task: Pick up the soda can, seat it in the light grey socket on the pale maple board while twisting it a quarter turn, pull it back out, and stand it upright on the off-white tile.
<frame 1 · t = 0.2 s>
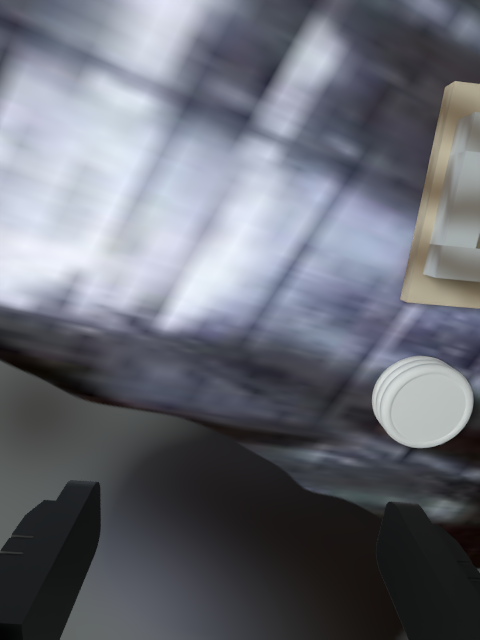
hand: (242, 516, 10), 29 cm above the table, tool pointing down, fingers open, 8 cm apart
white ribbed disc: (412, 393, 42), on the table
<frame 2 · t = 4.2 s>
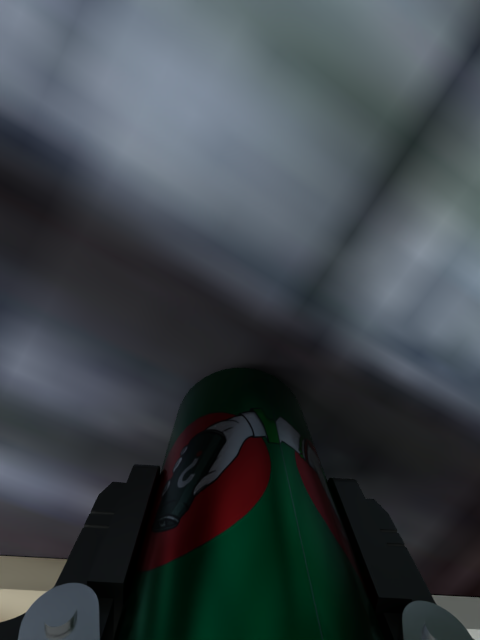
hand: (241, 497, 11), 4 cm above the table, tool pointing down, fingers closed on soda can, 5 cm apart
soda can: (239, 415, 15), on the table, touching gripper
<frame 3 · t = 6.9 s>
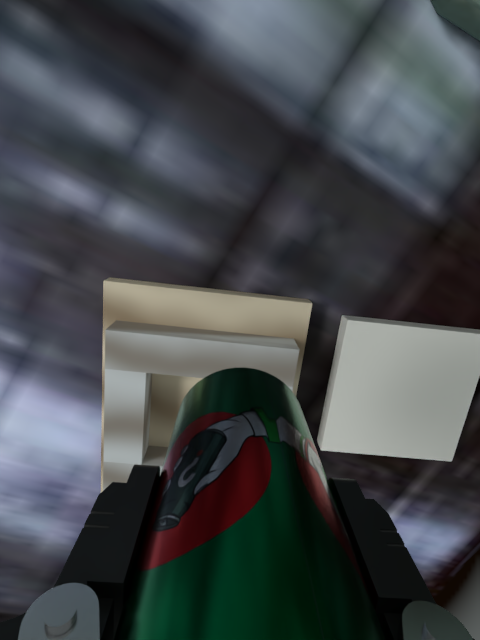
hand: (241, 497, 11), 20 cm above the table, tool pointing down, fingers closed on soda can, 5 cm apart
soda can: (239, 415, 15), point 15 cm above the table, touching gripper
tile: (395, 387, 32), on the table
socket board: (200, 399, 32), on the table
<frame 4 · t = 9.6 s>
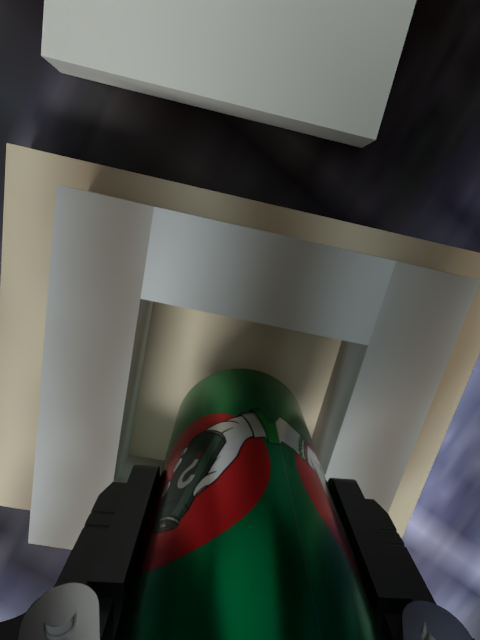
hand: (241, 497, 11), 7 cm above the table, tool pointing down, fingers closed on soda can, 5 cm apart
soda can: (239, 416, 15), point 2 cm above the table, touching gripper
socket board: (232, 378, 17), on the table
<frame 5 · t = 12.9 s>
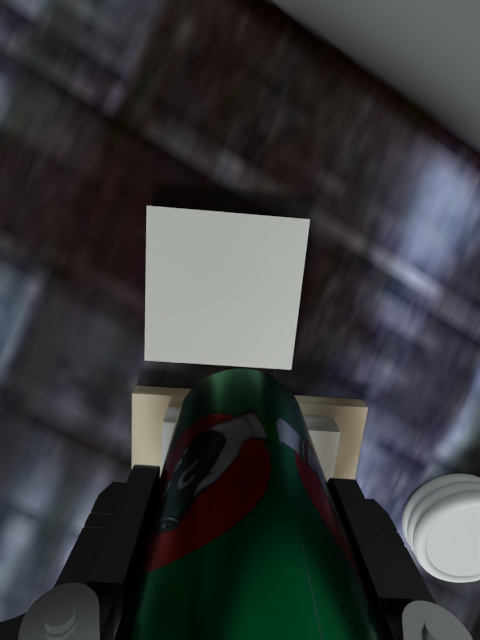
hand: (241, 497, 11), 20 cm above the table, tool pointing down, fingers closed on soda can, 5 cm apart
soda can: (239, 416, 15), point 15 cm above the table, touching gripper
tile: (223, 289, 29), on the table
socket board: (243, 470, 34), on the table
white ribbed disc: (447, 511, 36), on the table
when the fingers open (7 cm above the table, at t = 15.3 s): soda can stays where it is, resting on tile.
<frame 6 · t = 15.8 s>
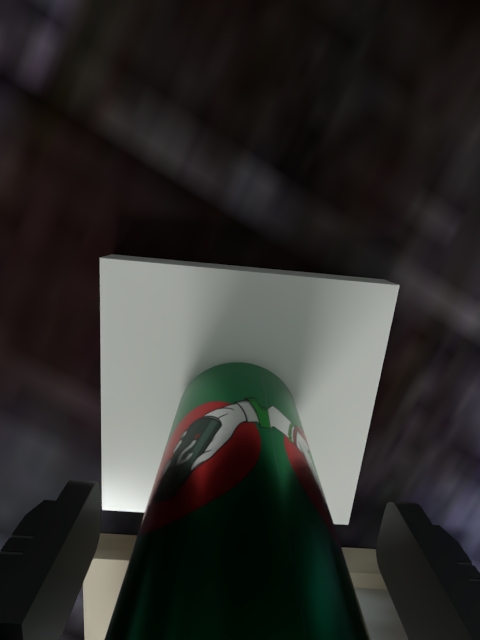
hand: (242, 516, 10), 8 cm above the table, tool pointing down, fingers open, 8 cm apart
soda can: (237, 408, 16), point 1 cm above the table, touching tile
tile: (238, 391, 17), on the table
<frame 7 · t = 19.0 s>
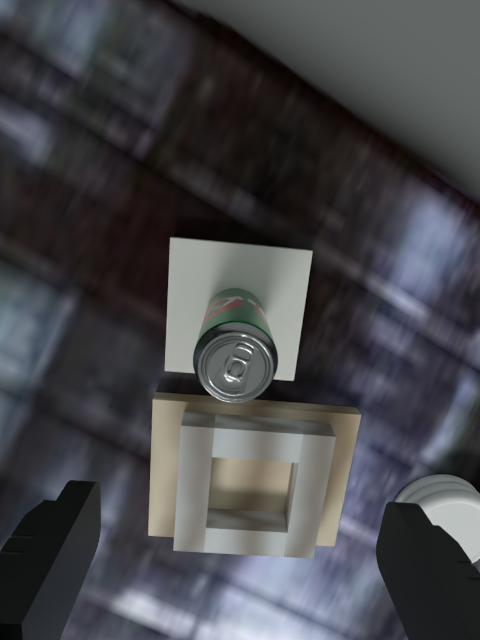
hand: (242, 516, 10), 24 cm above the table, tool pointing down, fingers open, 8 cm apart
soda can: (234, 314, 32), point 1 cm above the table, touching tile
tile: (235, 309, 33), on the table
socket board: (249, 468, 38), on the table
white ribbed disc: (431, 508, 40), on the table
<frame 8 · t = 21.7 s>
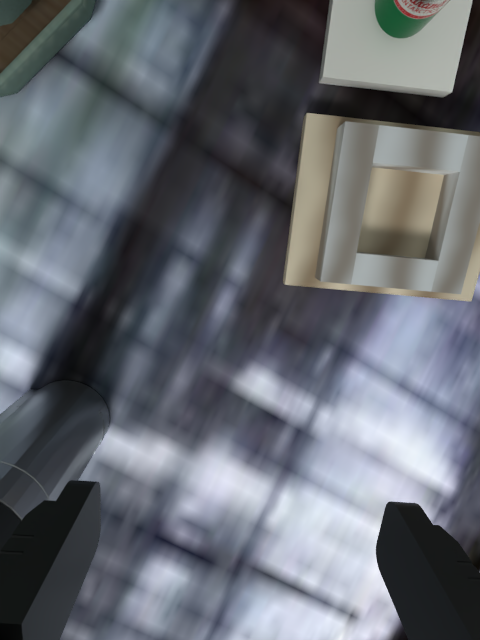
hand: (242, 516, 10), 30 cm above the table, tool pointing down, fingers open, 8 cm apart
soda can: (400, 8, 31), point 1 cm above the table, touching tile
tile: (394, 15, 32), on the table
socket board: (388, 214, 37), on the table
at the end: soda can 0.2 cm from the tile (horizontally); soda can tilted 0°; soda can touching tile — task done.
